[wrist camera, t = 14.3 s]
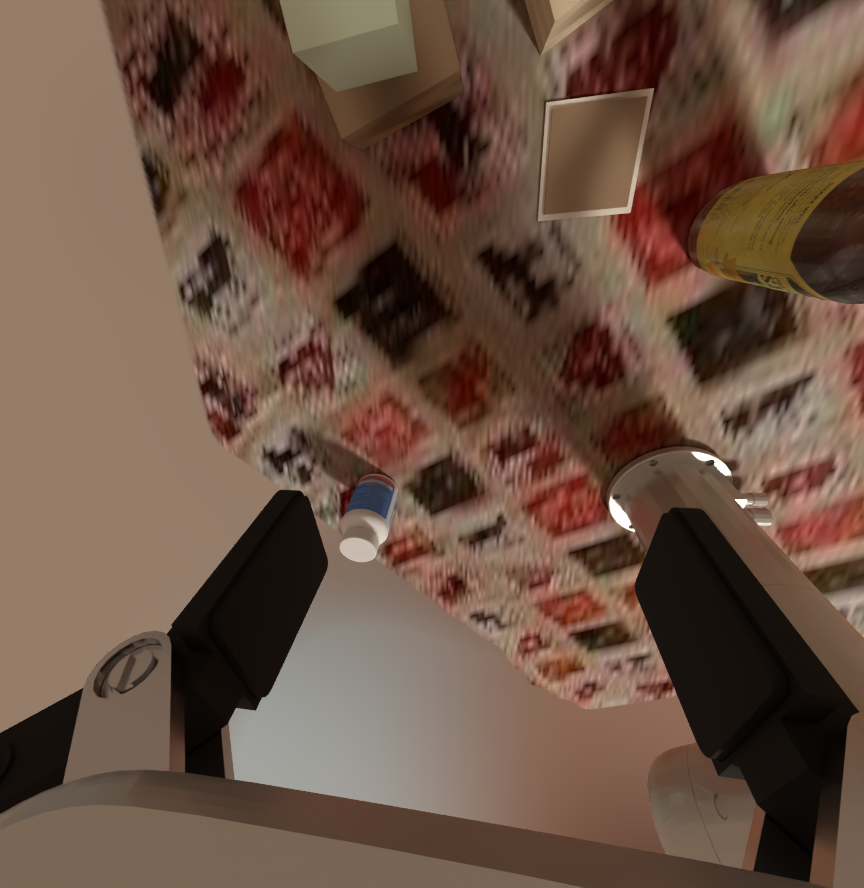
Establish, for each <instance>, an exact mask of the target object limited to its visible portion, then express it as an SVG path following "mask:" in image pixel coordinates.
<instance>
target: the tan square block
mask: <svg viewBox="0 0 864 888" xmlns="http://www.w3.org/2000/svg"><path fill="white" fill-rule="evenodd" d="M409 4H410V12H411V20H412V29H413V37H414V45H415V53H416V62H417V70H418V71H417V72H413V73H409V74H405V75H401V76H397V77H394V78H390V79H386V80H382V81H378V82H374V83H370V84H366V85H362V86H358V87H354V88H350V89H346V90H342V91H338V92H336V91H335V90H334V89H333V88H332V87H331V86H329V85H328V84H327V83H326V82H325V81H324V80H323V79H321V78H320V77H319V76H318V75H317V74H316V73H315V74H316V76H317V79H318V81H319V84H320V86H321V89H322V92H323V94H324V97H325V99H326V102H327V104H328V107H329V109H330V112H331V114H332V117H333V119H334V122H335V124H336V127H337V129H338V132H339V134H340V137H341V139H342V140H344V141H346V142H347V143H349V144H351V145H352V146H354V147H356V148H357V149H359V150H361V151H362V150H364V149H366V148H368V147H370V146H371V145H373V144H375V143H377V142H379V141H380V140H382V139H384V138H386V137H387V136H389V135H391V134H393V133H395V132H396V131H398V130H400V129H402V128H404V127H405V126H407V125H409V124H411V123H412V122H414V121H416V120H418V119H420V118H421V117H423V116H425V115H427V114H429V113H430V112H432V111H434V110H436V109H437V108H439V107H441V106H443V105H445V104H446V103H448V102H450V101H452V100H454V99H455V98H457V97H459V96H461V95H463V89H462V78H461V69H460V64H459V60H458V56H457V52H456V48H455V44H454V40H453V36H452V32H451V28H450V23H449V19H448V15H447V11H446V7H445V3H444V0H409Z"/></svg>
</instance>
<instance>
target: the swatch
mask: <svg viewBox="0 0 864 888" xmlns="http://www.w3.org/2000/svg"><path fill="white" fill-rule="evenodd" d="M653 92H654V88H650V89H642V90H635V91H628V92H620V93H613V94H605V95H598V96H591V97H583V98H576V99H568V100H561V101H554V102H546V109H545V123H544V138H543V152H542V166H541V180H540V194H539V208H538V221H547V220H558V219H569V218H580V217H591V216H601V215H612V214H623V213H630V212H631V207H632V202H633V196H634V191H635V186H636V181H637V175H638V170H639V165H640V160H641V155H642V149H643V144H644V139H645V134H646V128H647V123H648V118H649V113H650V107H651V102H652V97H653Z"/></svg>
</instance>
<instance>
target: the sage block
mask: <svg viewBox="0 0 864 888" xmlns="http://www.w3.org/2000/svg"><path fill="white" fill-rule="evenodd" d="M280 4H281V8H282V12H283V16H284V20H285V24H286V28H287V32H288V36H289V40H290V44H291V48H292V52H293V54H294V55H296V56H297V57H298V58H299V59H300V60H301V61H302V62H303V63H305V64H306V65H307V66H308V67H309V68H310V69H311V70H312V71H314V72H315V73H316V74H317V75H318V76H319V77H320V78H321V79H323V80H324V81H325V82H326V83H327V84H328V85H329V86H331V87H332V88H333V89H334V90H335V91H336V92H338V91H342V90H346V89H350V88H354V87H358V86H362V85H366V84H370V83H374V82H378V81H382V80H386V79H390V78H394V77H397V76H401V75H405V74H409V73H413V72H417V71H418V70H417V62H416V53H415V45H414V37H413V29H412V20H411V12H410V4H409V0H280Z"/></svg>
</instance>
